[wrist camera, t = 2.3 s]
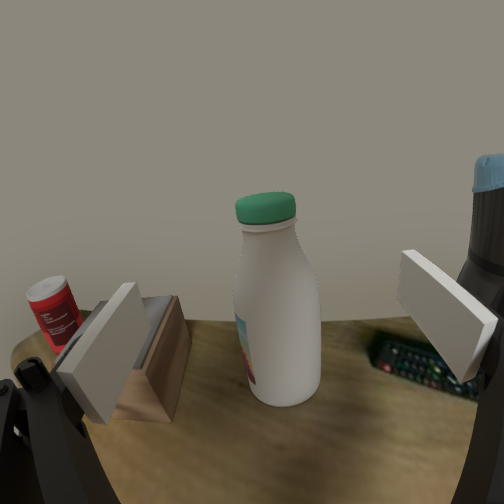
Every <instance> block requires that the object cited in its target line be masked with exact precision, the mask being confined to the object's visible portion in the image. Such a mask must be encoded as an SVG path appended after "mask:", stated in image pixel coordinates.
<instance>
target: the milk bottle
mask: <svg viewBox="0 0 504 504" xmlns="http://www.w3.org/2000/svg"><path fill="white" fill-rule="evenodd" d="M235 208H236V215H237V219H238V221H239V226H238V227H239V229H240V230H242V233H243V245H242V252H241V257H240V261H239V265H238V268H237V272H236V275H235V279H234V285H233V304H234V310H235V317H236V323H237V328H238V333H239V339H240V344H241V349H242V353H243V358H244V363H245V367H246V372H247V376H248V381H249V384H250V388H251V391H252V392H253V394H254V395H255V396H256V397H257V398H258V399H259V400H261V401H262V402H263V403H266V404H268V405H271V406H275V407H289V406H294V405H298V404H300V403H302V402H304V401H306V400H307V399H309V398H310V397H311V396H312V395H313V394H314V393H315V391H316V390H317V388H318V386H319V383H320V376H321V309H320V294H319V288H318V283H317V279H316V276H315V273H314V271H313V269H312V267H311V265H310V263H309V261H308V260H307V258H306V256H305V255H304V253H303V251H302V249H301V246H300V244H299V242H298V239H297V236H296V233H295V228H294V224H295V223H296V222H297V219H296V215H295V214H296V204H295V198H294V196H293V195H292V194H290V193H286V192H268V193H260V194H254V195H250V196H246V197H243V198H241V199H239V200H238V201H237V202H236V205H235Z"/></svg>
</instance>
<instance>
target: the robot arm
mask: <svg viewBox="0 0 504 504" xmlns="http://www.w3.org/2000/svg"><path fill="white" fill-rule="evenodd" d="M472 192H474V197H473V215H472V225H471V235H470V242H469V250H468V257H467V260H466V262H465V264H464V266H463V268H462V270H461V272H460V274H459V277H458V279H457V281H456V282H455V281H454V280H453V279H451V278H450V277H449V276H448V275H446V274H445V273H444V272H443V271H442V270H440V269H439V268H438V267H436V266H435V265H434V264H433V263H431V262H430V261H429V260H427V259H426V258H425V257H423V256H422V255H421V254H419V253H418V252H417V251H415V250H406V251H402V252H401V263H400V274H399V284H398V292H397V300H398V302H399V303H400V304H401V305H402V306H403V308H404V309H405V310H406V311H407V313H408V314H409V315H410V316H411V318H412V319H413V320H414V321H415V323H416V324H417V325H418V326H419V328H420V329H421V330H422V331H423V333H424V334H425V335H426V337H427V338H428V339H429V340H430V342H431V343H432V344H433V346H434V347H435V348H436V350H437V351H438V352H439V354H440V355H441V356H442V358H443V359H444V361H445V362H446V363H447V365H448V366H449V367H450V369H451V370H452V372H453V373H454V374H455V376H456V377H457V379H458V380H459V382H460V383H463V382H465V381H468V380H470V379H472V378H474V377H475V375H476V373H477V371H478V369H479V367H480V366H481V367H482V368H483V370H484V372H483V374H482V376H481V379H480V381H479V383H478V384H477V386H476V389H475V391H474V392H477V390H478V388H479V387H480V393H479V400H478V407H477V413H476V418H475V423H474V428H473V433H472V437H471V442H470V446H469V450H468V453H467V457H466V461H465V464H464V467H463V471H462V474H461V477H460V480H459V483H458V486H457V489H456V491H455V494H454V497H453V499H452V502H451V504H504V154H488V155H482V156H481V157H479V158H478V159H477V161H476V163H475V171H474V186H473V188H472ZM150 330H151V325H150V322H149V319H148V317H147V314H146V311H145V308H144V305H143V302H142V298H141V295H140V292H139V289H138V286H137V283H136V282H132V283H123V284H122V286H121V287H120V288H119V289H118V290H117V292H116V293H115V294H114V295H113V296H112V298H111V299H110V300H109V301H108V303H107V304H106V305H105V306H104V308H103V309H102V310H101V311H100V313H99V314H98V315H97V316H96V318H95V319H94V320H93V322H92V323H91V324H90V325H89V327H88V328H87V329H86V331H85V332H84V333H83V334H81V335H80V336H79V337H77V338H76V339H75V340H74V341H73V342H72V343H71V345H70V346H69V347H68V350H66V351H65V353H64V356H62V357H61V358H60V360H59V361H58V362H57V364H56V365H55V366H54V368H53V369H52V371H51V372H50V374H49V372H48V371H47V369H46V367H45V366H44V364H43V362H42V361H41V359H40V358H38V357H30V358H27V359H25V360H24V361H22V362H21V363H20V364H19V365H18V366H17V367H16V369H15V372H14V374H15V376H16V377H17V379H18V380H19V382H20V383H21V385H22V386H23V388H18V389H17V387H16V386H15V384H14V383H13V381H12V380H10V379H4V380H1V381H0V504H121V503H120V501H119V500H118V498H117V496H116V494H115V492H114V490H113V488H112V486H111V484H110V482H109V480H108V478H107V476H106V474H105V472H104V470H103V468H102V465H101V463H100V461H99V459H98V456H97V454H96V452H95V449H94V447H93V444H92V442H91V439H90V437H89V434H88V431H87V428H86V426H85V424H84V422H83V421H82V420H81V419H82V417H83V415H84V413H85V415H86V416H87V417H88V418H89V420H90V421H91V422H92V423H97V424H102V425H108V423H109V420H110V418H111V415H112V413H113V411H114V408H115V406H116V404H117V401H118V399H119V397H120V394H121V392H122V390H123V388H124V385H125V383H126V381H127V379H128V377H129V374H130V372H131V370H132V368H133V366H134V364H135V361H136V359H137V357H138V355H139V353H140V351H141V349H142V347H143V344H144V342H145V340H146V338H147V336H148V334H149V332H150ZM14 426H15V427H16V428H17V429H18V430H19V435H18V436H17V435H16V434H15V433H14Z"/></svg>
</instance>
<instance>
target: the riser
mask: <svg viewBox="0 0 504 504" xmlns="http://www.w3.org/2000/svg"><path fill="white" fill-rule="evenodd" d="M142 302H143V305H144V308H145V311H146V314H147V317H148V319H149V322H150V325H151V330H150V332H149V334H148V336H147V338H146V340H145V342H144V344H143V347H142V349H141V351H140V353H139V355H138V357H137V359H136V361H135V364H134V366H133V368H132V370H131V372H130V374H129V377H128V379H127V381H126V383H125V385H124V388H123V390H122V392H121V394H120V397H119V399H118V401H117V404H116V406H115V408H114V411H113V413H112V415H111V417H113V418H121V419H130V420H139V421H151V422H167V423H172V420H173V416H174V411H175V407H176V403H177V399H178V395H179V391H180V387H181V383H182V379H183V375H184V371H185V367H186V363H187V359H188V355H189V351H190V348H191V344H192V341H191V338H190V335H189V332H188V329H187V325H186V322H185V319H184V316H183V312H182V309H181V306H180V302H179V299H178V296H172V295H170V296H158V297H147V298H142ZM107 303H108V301H100V303H99V304H98V305H97V306H96V307H95V309H94V310H93V311H92V312H91V314H90V315H89V316H88V317H87V319H86V320H85V321H84V322H83V324H82V325H81V326H80V328H79V329H78V330H77V331H76V333H75V334H74V335H73V337H72V338H71V339H70V341H69V342H68V343H67V345H66V346H65V347H64V349H63V350H62V351H61V353H60V354H59V356H58V357H57V358H56V360H55V362H54V363H53V365H52V366H51V367H52V369H53V368H54V366H55V365H56V364H57V362H58V361H59V360H60V358H61V357H62V356H64V353H65V351H66V350H68V347H69V346H70V345H71V343H72V342H73V341H74V340H75V339H76V338H77V337H79V336H80V335H81V334H83V333H84V332H85V331H86V329H87V328H88V327H89V325H90V324H91V323H92V322H93V320H94V319H95V318H96V316H97V315H98V314H99V313H100V311H101V310H102V309H103V308H104V306H105V305H106V304H107Z"/></svg>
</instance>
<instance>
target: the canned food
mask: <svg viewBox="0 0 504 504" xmlns="http://www.w3.org/2000/svg"><path fill="white" fill-rule="evenodd" d="M26 296H27V299H28V302H29V304H30V307H31V309H32V311H33V313H34V315H35V317H36V319H37V321H38V324H39V325H40V328H41V329H42V331H43V333H44V335H45V337H46V339H47V341H48V343H49V345H50V346H51V348H52V350H53V351H54V352H55V353H56V354H57V355H59V354H60V353H61V351H62V350H63V349H64V347H65V346H66V345H67V343H68V342H69V341H70V339H71V338H72V337H73V335H74V334H75V333H76V331H77V330H78V329H79V328H80V326H81V325H82V324H83V322H84V321H83V319H82V317H81V314H80V312H79V310H78V307H77V305H76V303H75V300H74V297H73V295H72V293H71V290H70V287H69V285H68V282H67V280H66V278H65V277H64V276H54V277H50V278H47V279H44V280H42V281H40V282H39V283H37V284H35V285H34V286H32V287H31V288H30V289H29V290H28V292H27V294H26Z"/></svg>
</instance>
